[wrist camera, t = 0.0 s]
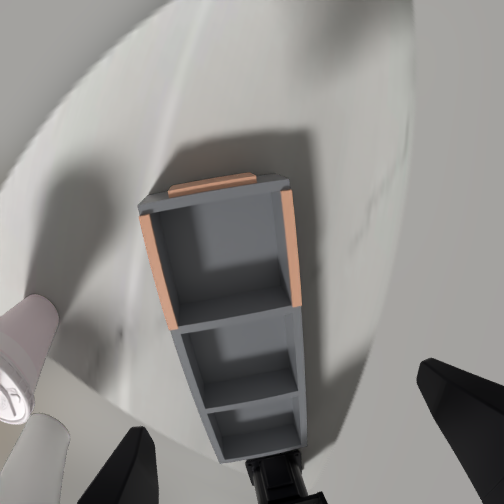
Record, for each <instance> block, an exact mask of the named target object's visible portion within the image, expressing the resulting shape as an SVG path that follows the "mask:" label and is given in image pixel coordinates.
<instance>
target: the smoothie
mask: <svg viewBox="0 0 504 504" xmlns="http://www.w3.org/2000/svg"><path fill="white" fill-rule="evenodd" d="M58 325H59V315H58V312H57V310H56V308H55V307H54V305H53V304H52V303H51V302H50V301H49V300H48V299H47V298H45V297H43V296H41V295H37V294H33V295H29V296H28V297H26V298H25V299H24V300H22V301H21V302H19V303H18V304H17V305H15V306H14V307H13V308H11V309H10V310H9V311H7V312H6V313H5V314H3V315H2V316H1V317H0V421H3V422H6V423H9V424H22V423H24V422H26V421H27V420H28V418H29V416H30V414H31V412H32V411H33V409H34V406H35V400H34V392H35V389H36V386H37V382H38V379H39V376H40V373H41V370H42V367H43V365H44V361H45V359H46V356H47V354H48V351H49V348H50V346H51V343H52V340H53V338H54V335H55V333H56V330H57V328H58Z"/></svg>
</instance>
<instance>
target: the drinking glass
mask: <svg viewBox="0 0 504 504" xmlns="http://www.w3.org/2000/svg"><path fill="white" fill-rule="evenodd" d="M69 443H70V434H69V432H68V430H67V429H66V427H65V426H64V425H63V424H62V423H61V422H60V421H58V420H57V419H55V418H53V417H51V416H49V415H46V414H43V413H34V414H32V415H31V416H30V417H29V418H28V420H27V422H26V425H25V427H24V429H23V431H22V433H21V435H20V436H19V438H18V440H17V442H16V444H15V446H14V448H13V449H12V452H11V453H10V455H9V457H8V459H7V461H6V463H5V465H4V467H3V469H2V471H1V472H0V504H60V496H61V488H62V479H63V473H64V466H65V460H66V455H67V449H68V446H69Z"/></svg>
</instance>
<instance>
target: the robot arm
mask: <svg viewBox="0 0 504 504" xmlns="http://www.w3.org/2000/svg"><path fill="white" fill-rule="evenodd" d="M417 385H418V387H419V389H420V391H421V393H422V395H423V397H424V399H425V401H426V403H427V406H428V408H429V410H430V412H431V414H432V416H433V418H434V420H435V421H436V423H437V425H438V426H439V428H440V430H441V431H442V433H443V434H444V436H445V438H446V439H447V441H448V443H449V444H450V446H451V448H452V449H453V451H454V453H455V454H456V456H457V458H458V460H459V461H460V463H461V465H462V466H463V468H464V470H465V472H466V473H467V475H468V477H469V479H470V480H471V482H472V484H473V486H474V488H475V489H476V491H477V493H478V495H479V497H480V499H481V500H482V503H483V504H504V386H503V385H500V384H497V383H495V382H492V381H490V380H487V379H484V378H482V377H479V376H477V375H474V374H472V373H469V372H466V371H464V370H461V369H459V368H456V367H454V366H451V365H449V364H446V363H444V362H441V361H439V360H436V359H434V358H428V359H426V360H424V361H422V362H421V363H420V366H419V370H418V375H417ZM245 465H246V468H247V471H248V474H249V477H250V480H251V483H252V485H253V486H255V491H256V496H257V500H258V504H328V503H327V501H326V499H325V497H324V495H323V492H322V491H321V492H318V493H316V494H313V495H309V496H308V493H307V490H306V487H305V484H304V481H303V478H302V466H301V453H300V451H299V450H296V451H291V452H287V453H283V454H278V455H274V456H269V457H264V458H259V459H254V460H249V461H246V462H245ZM77 504H159V487H158V476H157V465H156V453H155V445H154V442H153V440H152V438H151V437H150V435H149V433H148V431H147V430H146V428H145V427H143V426H139V427H132V428H130V430H129V431H128V432H127V434H126V435H125V437H124V438H123V439H122V441H121V442H120V444H119V445H118V446H117V448H116V449H115V450H114V452H113V453H112V455H111V456H110V457H109V459H108V460H107V462H106V463H105V465H104V466H103V467H102V469H101V470H100V471H99V473H98V474H97V476H96V477H95V478H94V480H93V481H92V482H91V484H90V485H89V487H88V488H87V489H86V491H85V492H84V494H83V495H82V496H81V498H80V499H79V500H78V502H77Z"/></svg>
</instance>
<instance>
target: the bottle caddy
mask: <svg viewBox="0 0 504 504" xmlns="http://www.w3.org/2000/svg"><path fill="white" fill-rule="evenodd" d="M138 210H139V214H140V216H139V220H140V225H141V229H142V233H143V237H144V242H145V246H146V250H147V254H148V258H149V262H150V266H151V269H152V273H153V277H154V281H155V284H156V288H157V291H158V295H159V298H160V302H161V305H162V309H163V312H164V316H165V319H166V322H167V325H168V329H169V330H170V331H171V335H172V338H173V341H174V344H175V347H176V350H177V353H178V356H179V359H180V362H181V365H182V368H183V371H184V374H185V377H186V379H187V382H188V385H189V388H190V391H191V393H192V396H193V399H194V401H195V404H196V407H197V409H198V412H199V414H200V417H201V420H202V422H203V425H204V427H205V430H206V432H207V435H208V437H209V439H210V442H211V444H212V447H213V449H214V451H215V454H216V456H217V458H218V461H219V463H220V464H221V463H228V462H235V461H241V460H247V459H252V458H258V457H263V456H268V455H273V454H277V453H282V452H286V451H290V450H294V449H298V448H302V447H306V446H307V411H306V385H305V364H304V346H303V329H302V314H301V306H302V298H301V284H300V271H299V259H298V248H297V237H296V226H295V216H294V206H293V196H292V190H291V189H290V181H289V179H288V178H286V177H283V176H281V175H278V174H276V173H273V174H266V175H259V176H255V175H254V174H252V173H250V172H248V173H241V174H235V175H229V176H222V177H216V178H211V179H205V180H199V181H194V182H188V183H183V184H178V185H172V186H171V187H170V189H169V190H168V191H166V192H161V193H156V194H152V195H147V196H146V197H145V198H144V199H143V200H142V201H141V202H140V203H139V204H138Z"/></svg>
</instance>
